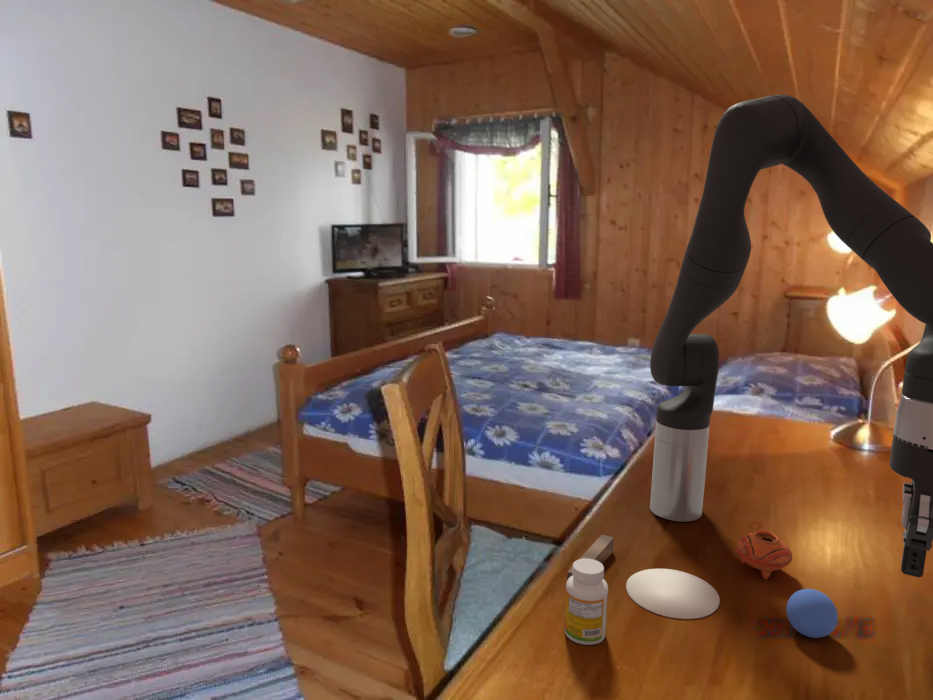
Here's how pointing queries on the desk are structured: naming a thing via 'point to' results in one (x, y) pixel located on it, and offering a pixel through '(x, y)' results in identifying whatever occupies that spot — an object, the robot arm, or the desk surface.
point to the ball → (812, 613)
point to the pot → (764, 552)
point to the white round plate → (672, 593)
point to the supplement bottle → (586, 603)
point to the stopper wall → (597, 551)
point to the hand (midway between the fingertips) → (911, 573)
